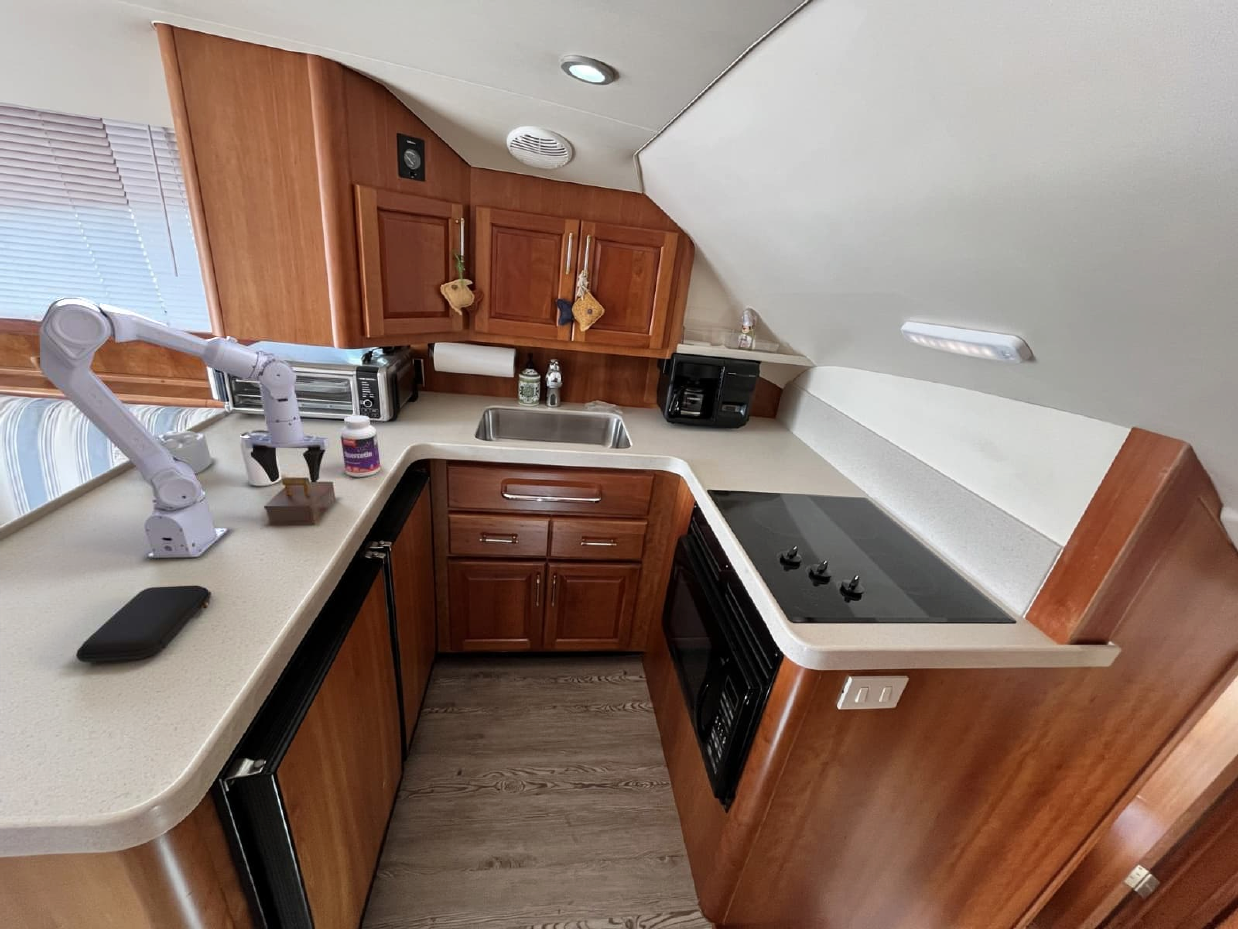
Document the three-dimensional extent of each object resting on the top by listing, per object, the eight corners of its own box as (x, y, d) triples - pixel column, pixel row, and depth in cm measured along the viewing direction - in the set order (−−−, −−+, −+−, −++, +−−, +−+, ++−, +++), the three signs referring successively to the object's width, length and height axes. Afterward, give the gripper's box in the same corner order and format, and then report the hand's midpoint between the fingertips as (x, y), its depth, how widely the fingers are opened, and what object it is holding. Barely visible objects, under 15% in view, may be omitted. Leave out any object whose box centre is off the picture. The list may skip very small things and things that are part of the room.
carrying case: (165, 663, 67) (224, 595, 80) (159, 646, 65) (220, 579, 79) (71, 670, 64) (148, 598, 78) (63, 652, 63) (142, 582, 77)
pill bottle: (342, 479, 121) (333, 424, 115) (349, 466, 128) (342, 413, 123) (378, 478, 123) (371, 423, 118) (383, 465, 130) (377, 413, 125)
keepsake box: (315, 524, 101) (312, 508, 100) (269, 524, 100) (265, 508, 98) (335, 499, 112) (333, 484, 110) (294, 499, 110) (291, 484, 109)
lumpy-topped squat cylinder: (217, 459, 126) (209, 427, 122) (188, 480, 114) (178, 446, 111) (170, 459, 124) (160, 427, 120) (135, 481, 112) (123, 446, 109)
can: (266, 488, 114) (255, 440, 109) (242, 484, 115) (230, 436, 110) (288, 478, 119) (279, 431, 115) (266, 473, 120) (255, 427, 116)
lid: (310, 509, 99) (307, 488, 98) (264, 509, 98) (259, 488, 96) (333, 484, 110) (330, 465, 108) (291, 484, 109) (287, 464, 107)
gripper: (330, 412, 101) (340, 472, 106) (253, 410, 99) (266, 471, 104) (316, 423, 95) (327, 486, 100) (233, 421, 92) (248, 486, 98)
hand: (295, 480), depth 102 cm, fingers open, 7 cm apart
